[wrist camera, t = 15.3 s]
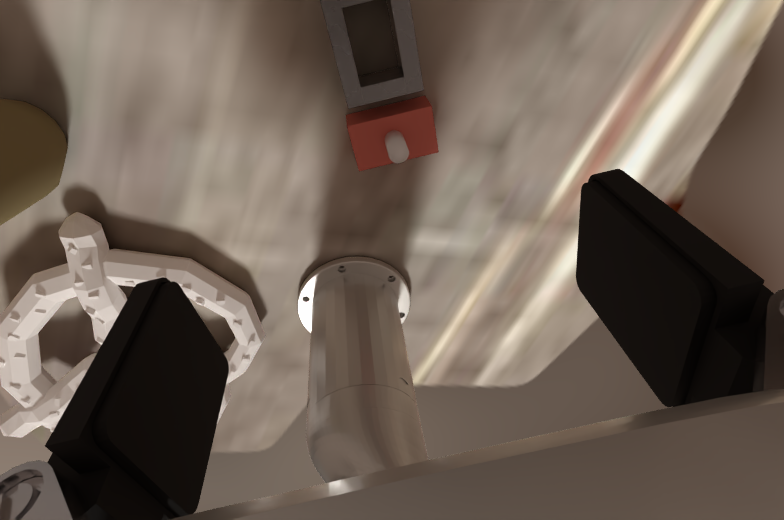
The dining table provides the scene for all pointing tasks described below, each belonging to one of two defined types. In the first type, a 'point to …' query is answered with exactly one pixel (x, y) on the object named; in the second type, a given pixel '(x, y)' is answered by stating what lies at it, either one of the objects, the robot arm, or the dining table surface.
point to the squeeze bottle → (27, 156)
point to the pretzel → (102, 317)
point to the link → (380, 82)
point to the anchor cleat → (392, 133)
